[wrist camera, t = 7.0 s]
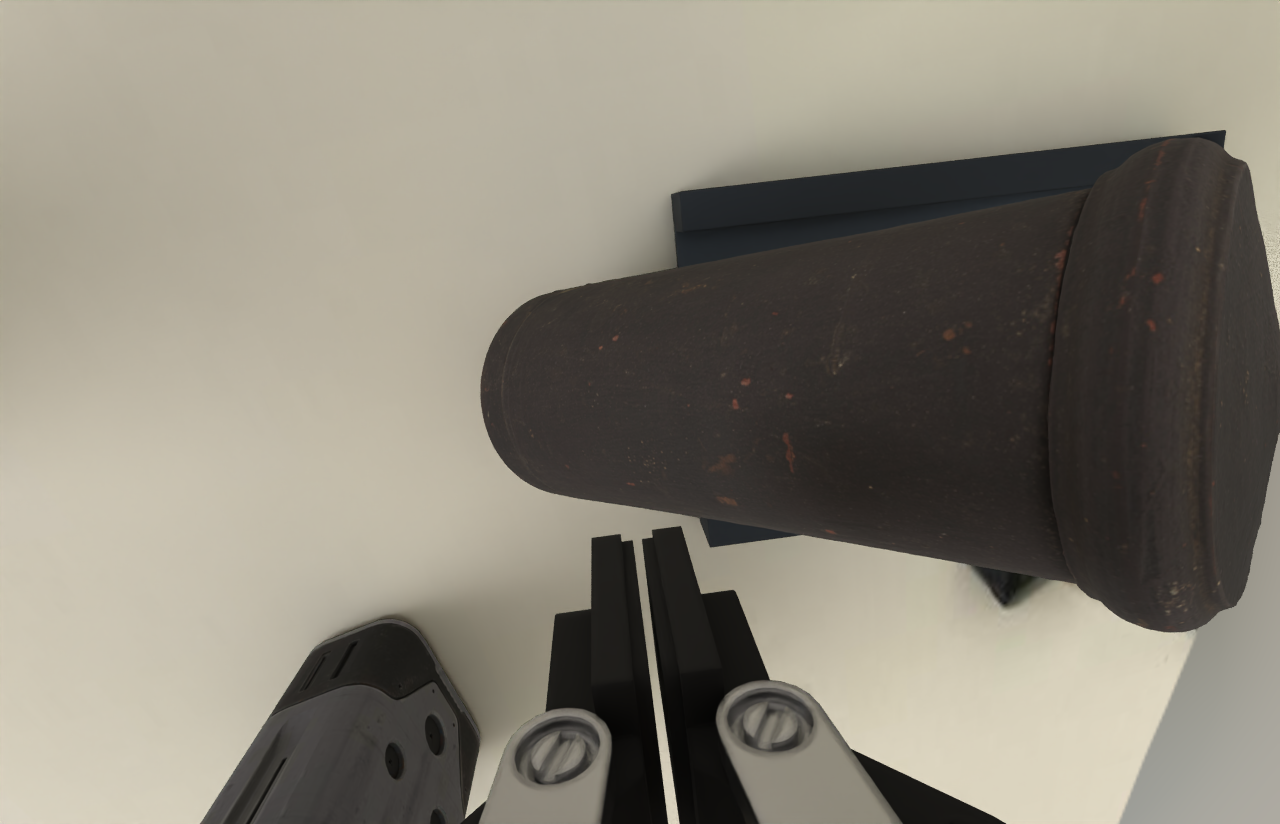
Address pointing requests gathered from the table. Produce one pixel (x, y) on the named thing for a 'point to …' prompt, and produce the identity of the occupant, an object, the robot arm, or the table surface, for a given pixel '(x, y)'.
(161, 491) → the table surface
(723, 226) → the tray
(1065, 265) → the container
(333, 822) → the electronic device
